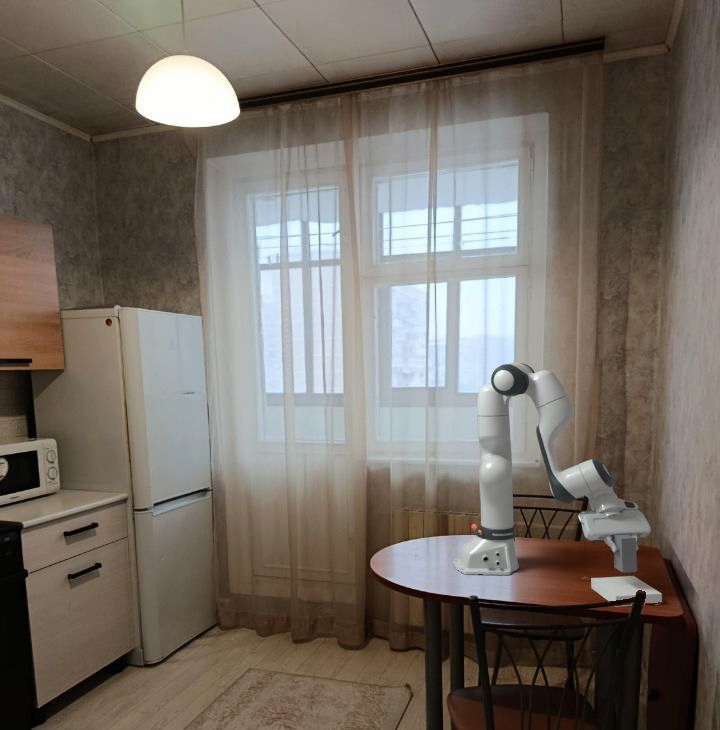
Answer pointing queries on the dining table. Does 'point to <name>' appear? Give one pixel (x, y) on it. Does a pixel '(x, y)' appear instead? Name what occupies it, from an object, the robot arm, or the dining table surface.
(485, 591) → the dining table surface
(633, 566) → the grey rectangular block
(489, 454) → the robot arm
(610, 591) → the plinth
